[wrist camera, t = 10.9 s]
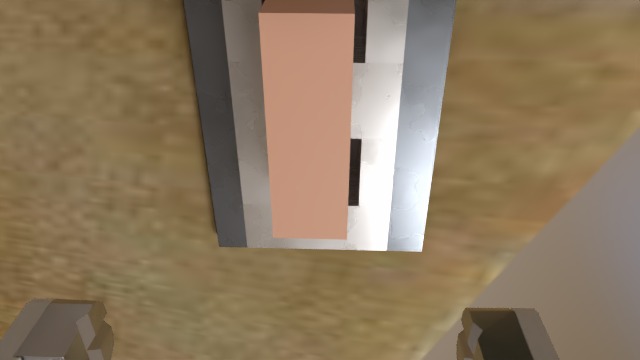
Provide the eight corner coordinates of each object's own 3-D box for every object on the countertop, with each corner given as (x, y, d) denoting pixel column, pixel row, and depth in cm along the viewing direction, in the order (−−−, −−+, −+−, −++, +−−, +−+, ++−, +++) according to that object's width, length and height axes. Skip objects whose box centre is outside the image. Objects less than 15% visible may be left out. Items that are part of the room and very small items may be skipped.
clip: (346, 153, 26) (347, 239, 21) (288, 152, 27) (273, 237, 21) (351, -30, 22) (354, 13, 16) (281, -31, 22) (258, 13, 16)
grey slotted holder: (419, 242, 31) (430, 294, 27) (221, 238, 31) (205, 289, 27) (481, -222, 19) (515, -240, 15) (158, -220, 19) (114, -236, 15)
